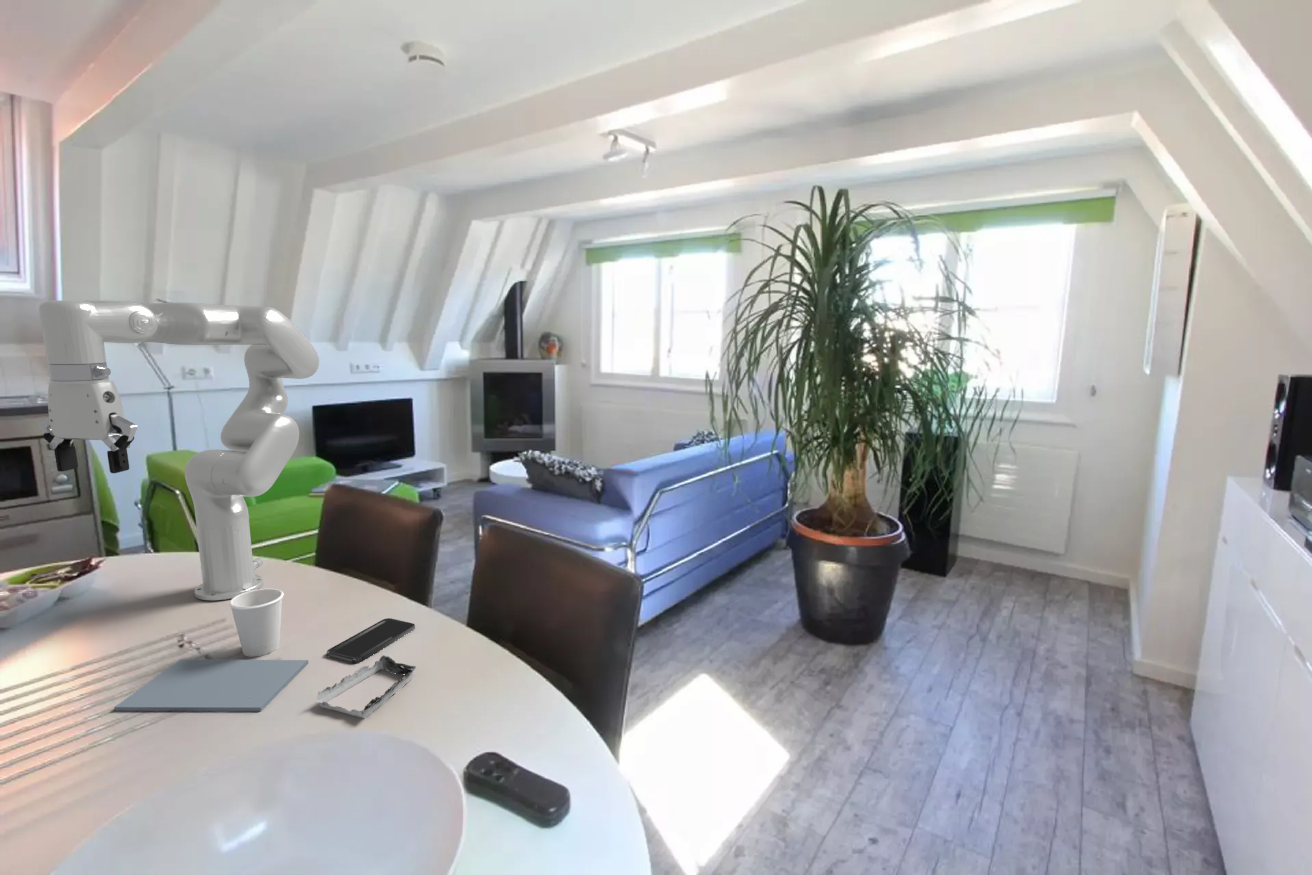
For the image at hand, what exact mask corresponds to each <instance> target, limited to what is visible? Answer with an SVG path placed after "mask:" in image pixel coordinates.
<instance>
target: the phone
mask: <svg viewBox="0 0 1312 875" xmlns="http://www.w3.org/2000/svg"><path fill="white" fill-rule="evenodd" d="M414 629H415V630H416V625H415V623H412V622H408V621H404V620H400V619H395V618H392V617H391V618H383V619H381V620H380V621H378V622H376V623H374V624H373V625H371V626H369V627H366V628H365V629H364V630H362V631H360V632H357V633H356V634H354V635H353V636H350V637H349V638H347V639H345V640H343V641H341V642H340V643H338V644H336V645H334V646H332V647H330V648H329V649H327V650H326V656H327V658H330V659H333V660H338V661H340V662H341V661H342V662H345V663H349V664H352V665H353V664H354V665H356V664H357V665H358V664H361V663H363V662H364V661H365V659H366V660H368V659H369V658H371V657H373V656H374V655H375V654H378V653H379V652H381V651H382V650H383V648H384V649H386V648H387V647H390V644H391V645H392V644H394V643H396V642H397V641H399V640H400V638H401V639H403V637H405V636H407V635H409V634H410V633H412V632H414V631H415V630H414ZM413 630H414V631H413ZM411 631H412V632H411ZM408 633H409V634H408ZM406 634H407V635H406ZM404 635H405V636H404ZM398 639H399V640H398ZM395 641H396V642H395ZM380 650H381V651H380ZM373 654H374V655H373ZM370 656H371V657H370ZM360 662H361V663H360Z"/></svg>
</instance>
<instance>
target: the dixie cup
mask: <svg viewBox="0 0 1312 875" xmlns="http://www.w3.org/2000/svg"><path fill="white" fill-rule="evenodd" d="M284 594H285V593H284V592H283V591H282V590H281V589H277V588H269V587H268V588H259V589H257V590H252V591H248V592H245V593H242V594H240V595H237V596H236V597H234V598H231V600H230V601H229V602H228V605H229V607H230V609H231V612H232V616H233V619H234V620H233V621H234V624H235V628H236V632H237V634H238V635H237V636H238V639H239V642H240V647H241V650H242V654H243V656H245V657H251V658H254V657H255V658H256V657H262V656H266V655H269V654H271V653H273V652H275V651H277V650H278V648H280V642H281V641H280V640H281V626H282V624H281V623H282V622H281V621H282V608H283V606H282V605H283V597H284Z"/></svg>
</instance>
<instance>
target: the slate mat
mask: <svg viewBox="0 0 1312 875" xmlns="http://www.w3.org/2000/svg"><path fill="white" fill-rule="evenodd" d="M308 664H309V660H308V659H179V660H177V661H176V662H175V663H173V664H172V665H171V666H169V667H168V668H167V669H166V668H165V670H163V671H162V672H161V673H160V674H158V675H156V677H154V678H153V679H151V680H150V681H148V682H147V683H146V684H144V685H143V686H142V687H140V688H139V689H138V690H136V691H135V692H133V693H132V694H131V695H129V696H128V697H126V698H125V699H124V700H122V701H121V702H119V703H118V704H117V705H116V706H114V712H115V711H116V712H117V711H118V712H120V711H121V712H125V711H126V712H127V711H129V712H133V711H134V712H135V711H136V712H137V711H138V712H140V711H142V712H143V711H144V712H150V711H151V712H171V711H172V712H238V711H239V712H262V711H264V709H265V708H266V707H267V706H268V705H269V703H271V702H272V701H273V700H274V699H275V698H276V697H277V695H278V694H280V693H281V692H282V691H283V690H284V688H286V686H287V685H288V684H289V683H290V682H292V681H293V680H294V678H295V677H297V676H298V674H299V673H300V672H302V670H303V669H304V668H305V667H306V666H307V665H308ZM248 695H249V696H250V698H249V696H248Z"/></svg>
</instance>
